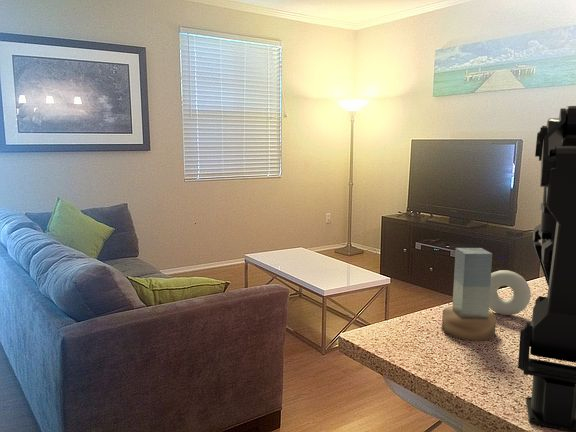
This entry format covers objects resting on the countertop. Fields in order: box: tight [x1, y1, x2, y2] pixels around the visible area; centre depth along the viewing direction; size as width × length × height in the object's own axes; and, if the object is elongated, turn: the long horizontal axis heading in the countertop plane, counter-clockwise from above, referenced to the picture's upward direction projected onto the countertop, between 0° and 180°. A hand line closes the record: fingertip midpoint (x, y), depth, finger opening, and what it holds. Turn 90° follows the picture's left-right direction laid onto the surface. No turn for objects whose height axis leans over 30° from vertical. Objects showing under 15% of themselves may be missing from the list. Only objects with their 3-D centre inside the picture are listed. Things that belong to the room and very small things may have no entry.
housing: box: [452, 247, 493, 319], centre depth 94 cm, size 5×5×13 cm
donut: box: [489, 269, 532, 316], centre depth 104 cm, size 10×4×10 cm, turn 59°
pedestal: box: [441, 305, 497, 342], centre depth 95 cm, size 10×10×4 cm
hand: (555, 295), depth 76 cm, fingers open, 9 cm apart
